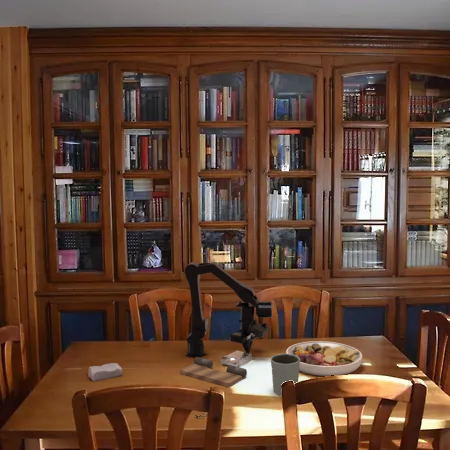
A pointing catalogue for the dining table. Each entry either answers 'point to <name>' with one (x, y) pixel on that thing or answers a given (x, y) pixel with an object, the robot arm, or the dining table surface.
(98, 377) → the stone block
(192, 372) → the striped wooden board
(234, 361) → the pale pink block
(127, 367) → the dining table surface
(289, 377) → the gray green cup
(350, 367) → the bowl
